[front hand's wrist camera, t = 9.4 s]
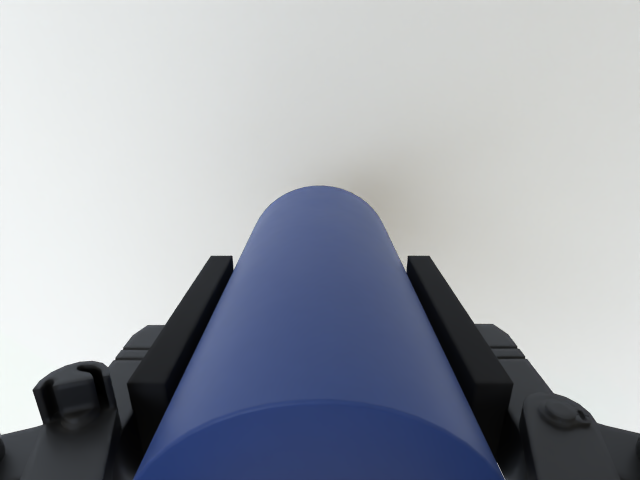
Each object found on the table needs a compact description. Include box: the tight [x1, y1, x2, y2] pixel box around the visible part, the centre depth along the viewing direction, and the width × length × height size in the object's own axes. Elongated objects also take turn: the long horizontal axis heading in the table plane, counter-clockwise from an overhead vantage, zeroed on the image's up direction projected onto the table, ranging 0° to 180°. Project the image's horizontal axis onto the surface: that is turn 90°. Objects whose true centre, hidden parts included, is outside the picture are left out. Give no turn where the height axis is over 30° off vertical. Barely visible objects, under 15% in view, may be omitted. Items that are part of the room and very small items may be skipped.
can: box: [133, 186, 505, 480], centre depth 12 cm, size 6×6×12 cm
